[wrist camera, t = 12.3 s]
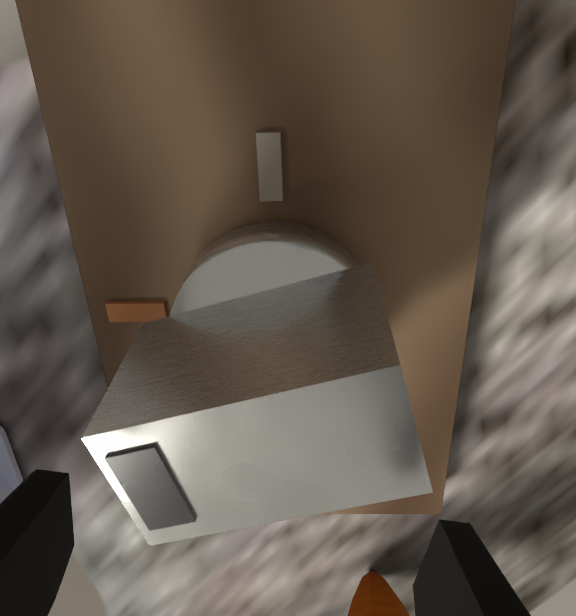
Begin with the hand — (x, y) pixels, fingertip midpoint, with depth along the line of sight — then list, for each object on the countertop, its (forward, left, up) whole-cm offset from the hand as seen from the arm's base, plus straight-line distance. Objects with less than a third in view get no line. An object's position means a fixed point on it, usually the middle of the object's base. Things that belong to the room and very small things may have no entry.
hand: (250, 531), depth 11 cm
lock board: (0, 0, -10) cm, 10 cm away
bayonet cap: (0, 0, -9) cm, 9 cm away
